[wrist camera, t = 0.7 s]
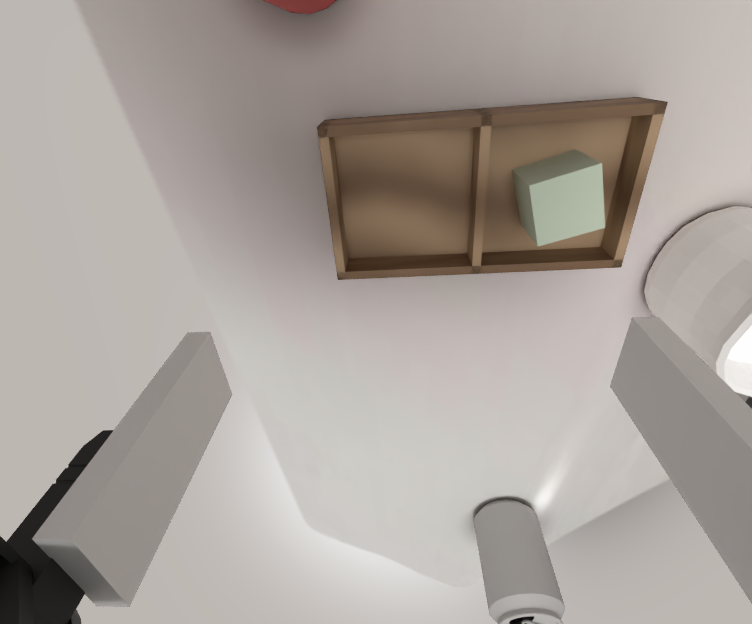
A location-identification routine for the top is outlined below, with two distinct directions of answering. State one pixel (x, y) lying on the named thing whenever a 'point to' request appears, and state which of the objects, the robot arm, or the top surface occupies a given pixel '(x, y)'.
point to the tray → (476, 186)
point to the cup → (709, 291)
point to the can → (516, 565)
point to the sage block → (560, 197)
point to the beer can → (302, 5)
